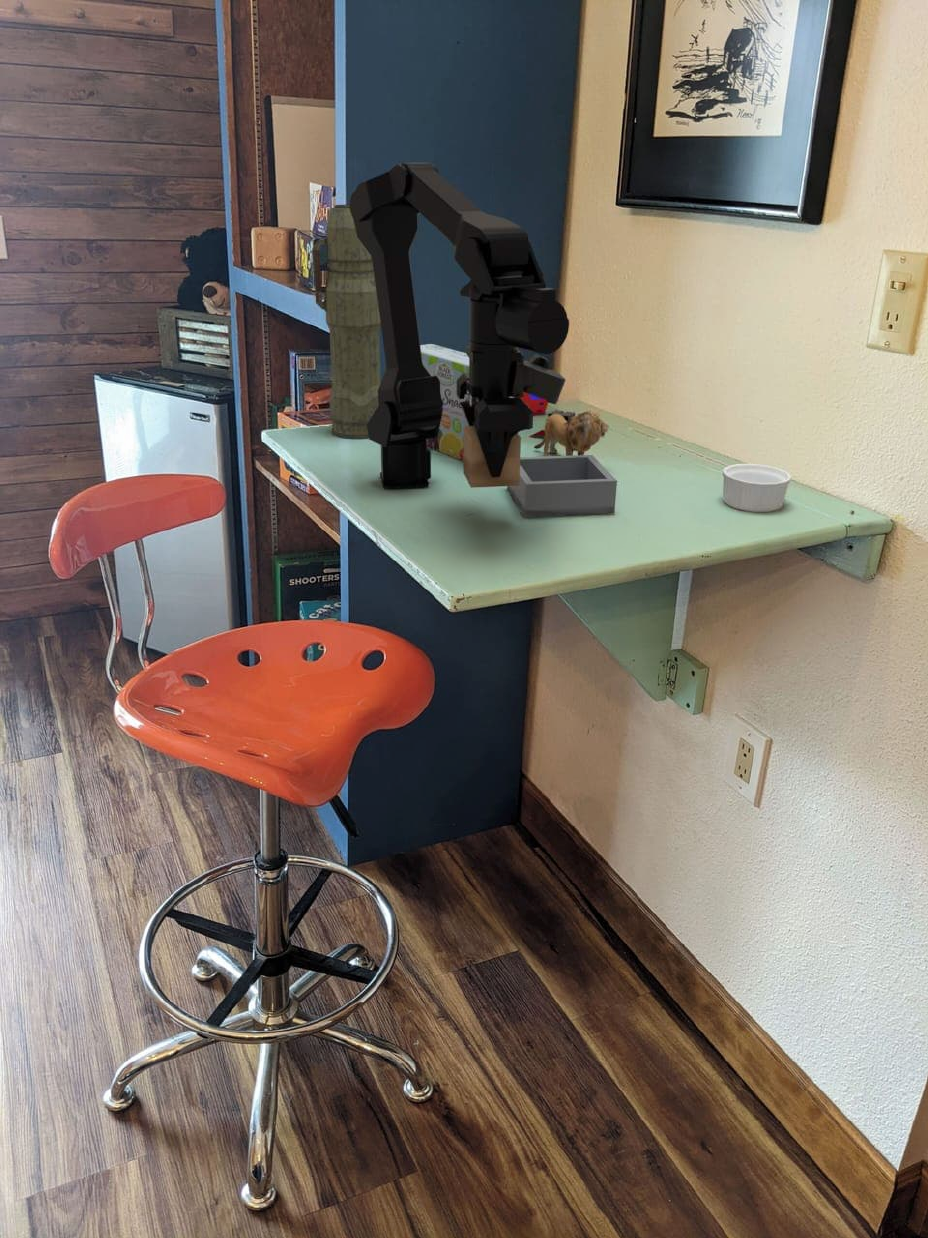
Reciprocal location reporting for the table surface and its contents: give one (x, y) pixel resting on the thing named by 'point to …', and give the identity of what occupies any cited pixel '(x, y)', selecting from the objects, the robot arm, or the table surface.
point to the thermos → (350, 325)
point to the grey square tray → (564, 487)
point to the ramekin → (755, 487)
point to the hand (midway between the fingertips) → (491, 469)
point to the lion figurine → (573, 432)
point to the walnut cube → (477, 465)
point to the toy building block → (535, 403)
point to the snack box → (448, 397)
